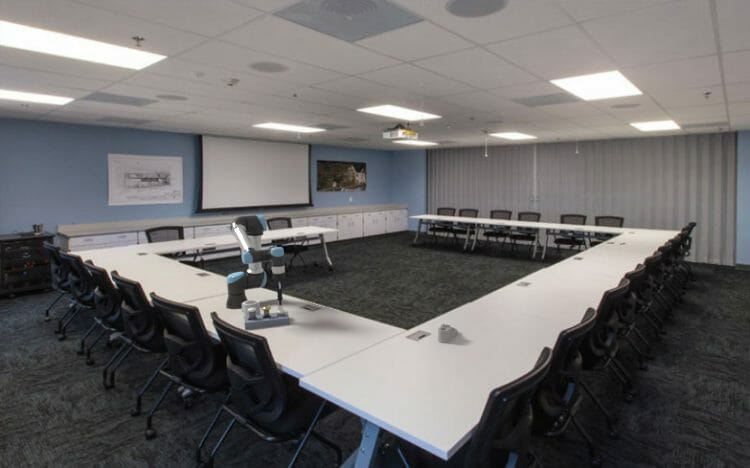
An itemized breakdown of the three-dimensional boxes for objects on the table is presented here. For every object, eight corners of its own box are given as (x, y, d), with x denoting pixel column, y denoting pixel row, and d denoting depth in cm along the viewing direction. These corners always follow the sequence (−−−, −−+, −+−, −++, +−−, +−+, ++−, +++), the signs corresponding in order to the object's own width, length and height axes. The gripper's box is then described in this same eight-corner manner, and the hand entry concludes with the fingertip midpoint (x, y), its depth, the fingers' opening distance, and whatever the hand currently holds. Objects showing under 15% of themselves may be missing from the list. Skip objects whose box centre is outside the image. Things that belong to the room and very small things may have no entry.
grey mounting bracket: (458, 333, 231) (458, 319, 230) (446, 344, 216) (446, 329, 215) (449, 331, 234) (449, 317, 233) (436, 342, 219) (436, 327, 218)
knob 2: (276, 319, 259) (276, 310, 259) (285, 318, 261) (284, 309, 260) (277, 322, 255) (276, 312, 254) (285, 321, 256) (285, 311, 255)
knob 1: (248, 317, 254) (247, 308, 253) (256, 316, 256) (256, 307, 255) (248, 320, 249) (247, 310, 249) (256, 319, 251) (256, 309, 250)
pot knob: (262, 316, 257) (261, 306, 256) (270, 315, 258) (270, 305, 257) (262, 318, 252) (262, 308, 251) (271, 317, 253) (270, 307, 252)
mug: (264, 315, 272) (263, 300, 271) (252, 320, 262) (251, 304, 261) (248, 312, 277) (247, 298, 276) (236, 317, 268) (235, 302, 267)
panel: (245, 322, 258) (245, 316, 258) (287, 317, 266) (287, 311, 265) (245, 329, 245) (244, 323, 245) (289, 324, 252) (289, 318, 252)
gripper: (271, 270, 259) (273, 307, 262) (272, 275, 247) (274, 313, 250) (284, 269, 261) (285, 306, 264) (285, 274, 249) (287, 312, 252)
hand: (280, 309), depth 257 cm, fingers closed
